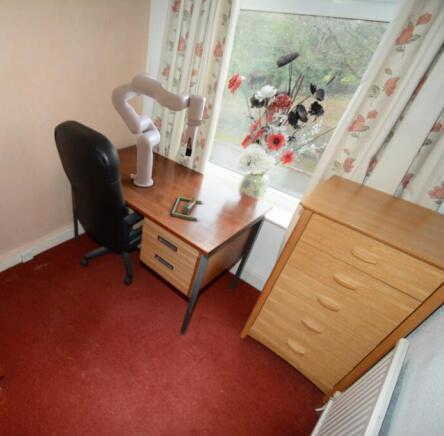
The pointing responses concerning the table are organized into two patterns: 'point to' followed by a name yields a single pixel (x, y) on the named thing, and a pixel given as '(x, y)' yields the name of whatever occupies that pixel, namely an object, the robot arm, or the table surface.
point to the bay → (182, 214)
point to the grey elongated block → (189, 206)
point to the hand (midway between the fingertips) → (188, 155)
